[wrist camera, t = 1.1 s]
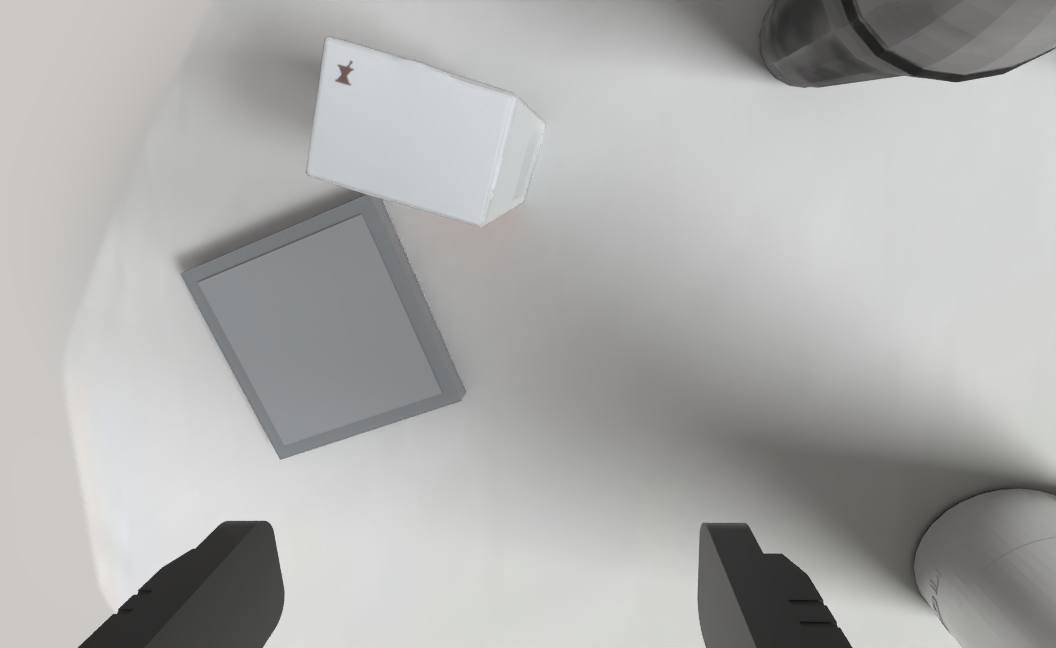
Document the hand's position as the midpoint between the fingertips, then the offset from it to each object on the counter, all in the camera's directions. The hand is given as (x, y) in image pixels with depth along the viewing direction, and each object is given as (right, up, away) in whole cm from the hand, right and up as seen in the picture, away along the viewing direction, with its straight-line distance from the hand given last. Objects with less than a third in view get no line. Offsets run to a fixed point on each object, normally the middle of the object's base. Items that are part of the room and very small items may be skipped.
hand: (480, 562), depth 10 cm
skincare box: (-1, +13, +18) cm, 22 cm away
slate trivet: (-10, +4, +21) cm, 24 cm away
